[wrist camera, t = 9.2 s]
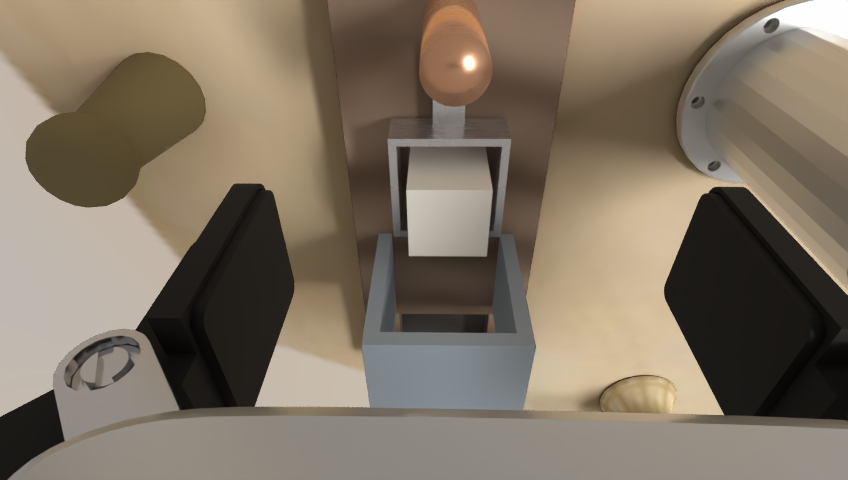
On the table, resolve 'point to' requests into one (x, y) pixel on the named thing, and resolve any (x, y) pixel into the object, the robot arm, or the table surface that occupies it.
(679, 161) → the table surface
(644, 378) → the hand bell
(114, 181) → the cork
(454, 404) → the tunnel
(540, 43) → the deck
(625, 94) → the table surface
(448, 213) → the cream block
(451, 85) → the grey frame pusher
